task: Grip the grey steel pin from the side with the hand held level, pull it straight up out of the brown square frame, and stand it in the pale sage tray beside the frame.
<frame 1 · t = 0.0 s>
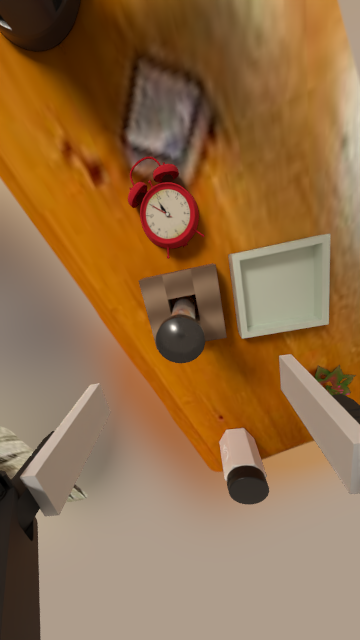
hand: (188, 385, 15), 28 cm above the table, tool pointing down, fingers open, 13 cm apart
sage tray: (274, 287, 39), on the table
jar: (236, 439, 52), on the table
brown square frame: (184, 305, 41), on the table
steel pin: (183, 318, 33), in the brown square frame
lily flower: (324, 384, 46), on the table
alarm clock: (165, 209, 36), on the table
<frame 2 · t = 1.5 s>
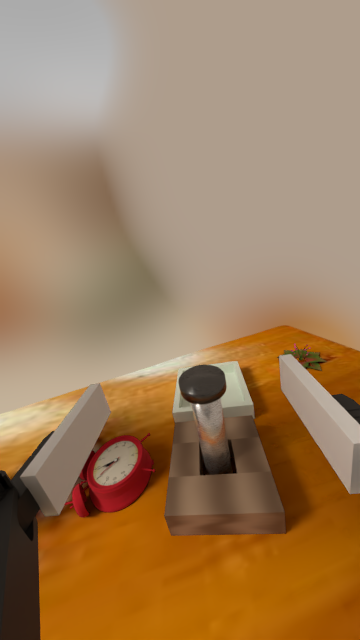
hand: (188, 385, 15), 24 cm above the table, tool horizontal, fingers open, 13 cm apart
sage tray: (211, 395, 48), on the table
brown square frame: (219, 474, 31), on the table
steel pin: (211, 431, 29), in the brown square frame
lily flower: (300, 362, 55), on the table
alarm clock: (113, 481, 34), on the table
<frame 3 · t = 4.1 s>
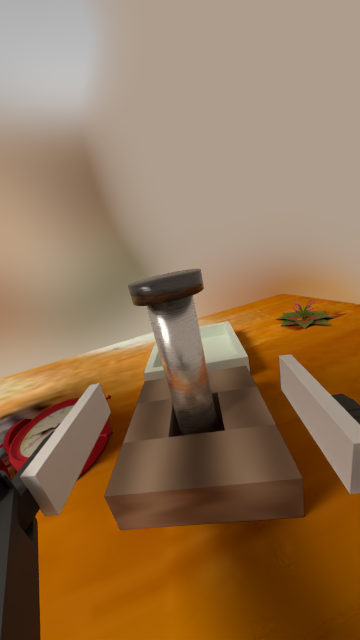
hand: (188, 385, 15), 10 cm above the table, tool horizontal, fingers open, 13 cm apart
sage tray: (196, 358, 39), on the table
brown square frame: (202, 441, 22), on the table
steel pin: (185, 370, 19), in the brown square frame
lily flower: (303, 321, 46), on the table
alarm clock: (54, 457, 25), on the table
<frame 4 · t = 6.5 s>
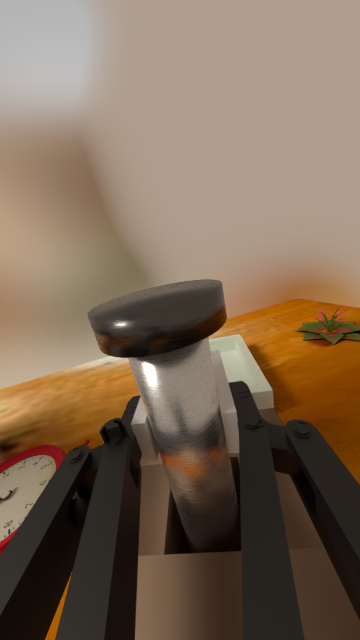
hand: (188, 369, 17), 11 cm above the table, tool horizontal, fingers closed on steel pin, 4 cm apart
sage tray: (202, 382, 32), on the table
brown square frame: (215, 534, 15), on the table
steel pin: (192, 441, 12), in the brown square frame, touching gripper
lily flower: (329, 334, 39), on the table
alarm clock: (7, 534, 18), on the table
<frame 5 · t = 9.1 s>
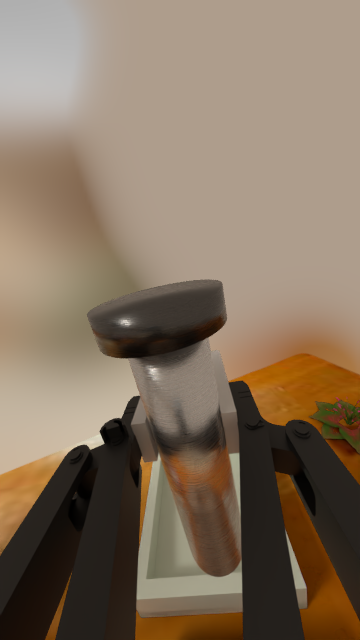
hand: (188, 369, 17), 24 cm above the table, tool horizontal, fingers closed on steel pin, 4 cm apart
sage tray: (211, 511, 27), on the table
steel pin: (192, 442, 12), point 22 cm above the table, touching gripper
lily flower: (348, 426, 35), on the table
when the fingers open (13 cm above the table, at t = 12.0 s): steel pin stays where it is, resting on sage tray.
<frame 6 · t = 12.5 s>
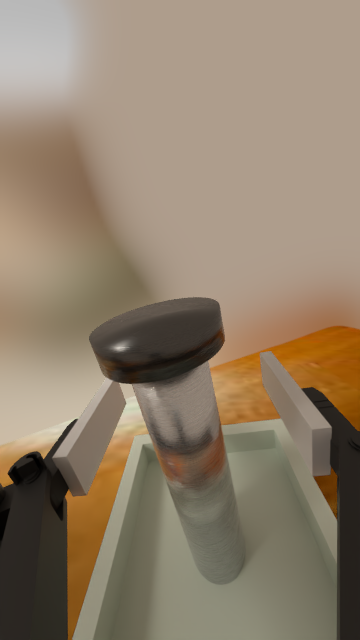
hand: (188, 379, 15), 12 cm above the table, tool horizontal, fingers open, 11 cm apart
sage tray: (219, 549, 15), on the table
steel pin: (193, 454, 12), in the sage tray, point 10 cm above the table
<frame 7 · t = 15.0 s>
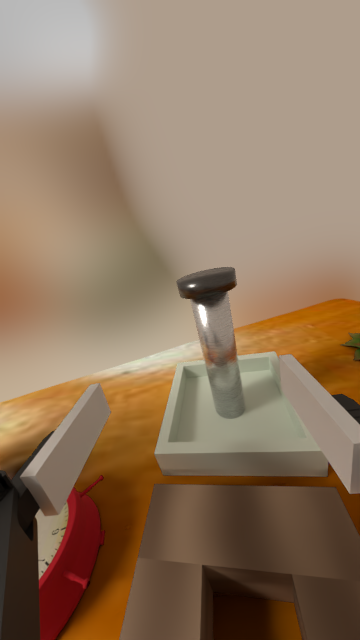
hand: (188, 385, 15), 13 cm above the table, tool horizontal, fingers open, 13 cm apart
sage tray: (231, 411, 27), on the table
steel pin: (219, 349, 24), in the sage tray, point 10 cm above the table
alarm clock: (23, 576, 17), on the table
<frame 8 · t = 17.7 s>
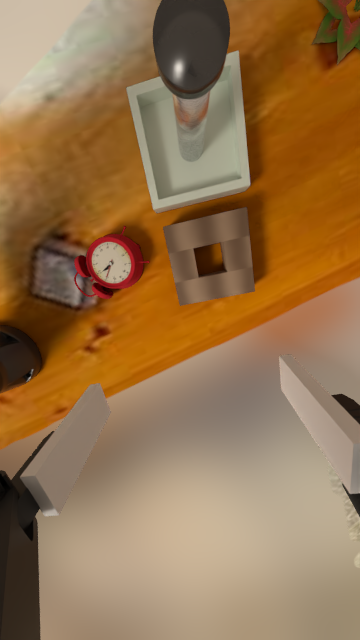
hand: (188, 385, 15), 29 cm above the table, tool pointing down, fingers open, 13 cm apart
sage tray: (191, 149, 34), on the table
brown square frame: (208, 259, 39), on the table
steel pin: (191, 111, 24), in the sage tray, point 10 cm above the table
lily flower: (352, 14, 28), on the table
alarm clock: (112, 267, 41), on the table
drinking cup: (350, 482, 56), on the table
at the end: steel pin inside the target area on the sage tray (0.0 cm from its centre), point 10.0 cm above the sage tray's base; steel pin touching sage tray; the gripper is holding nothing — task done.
